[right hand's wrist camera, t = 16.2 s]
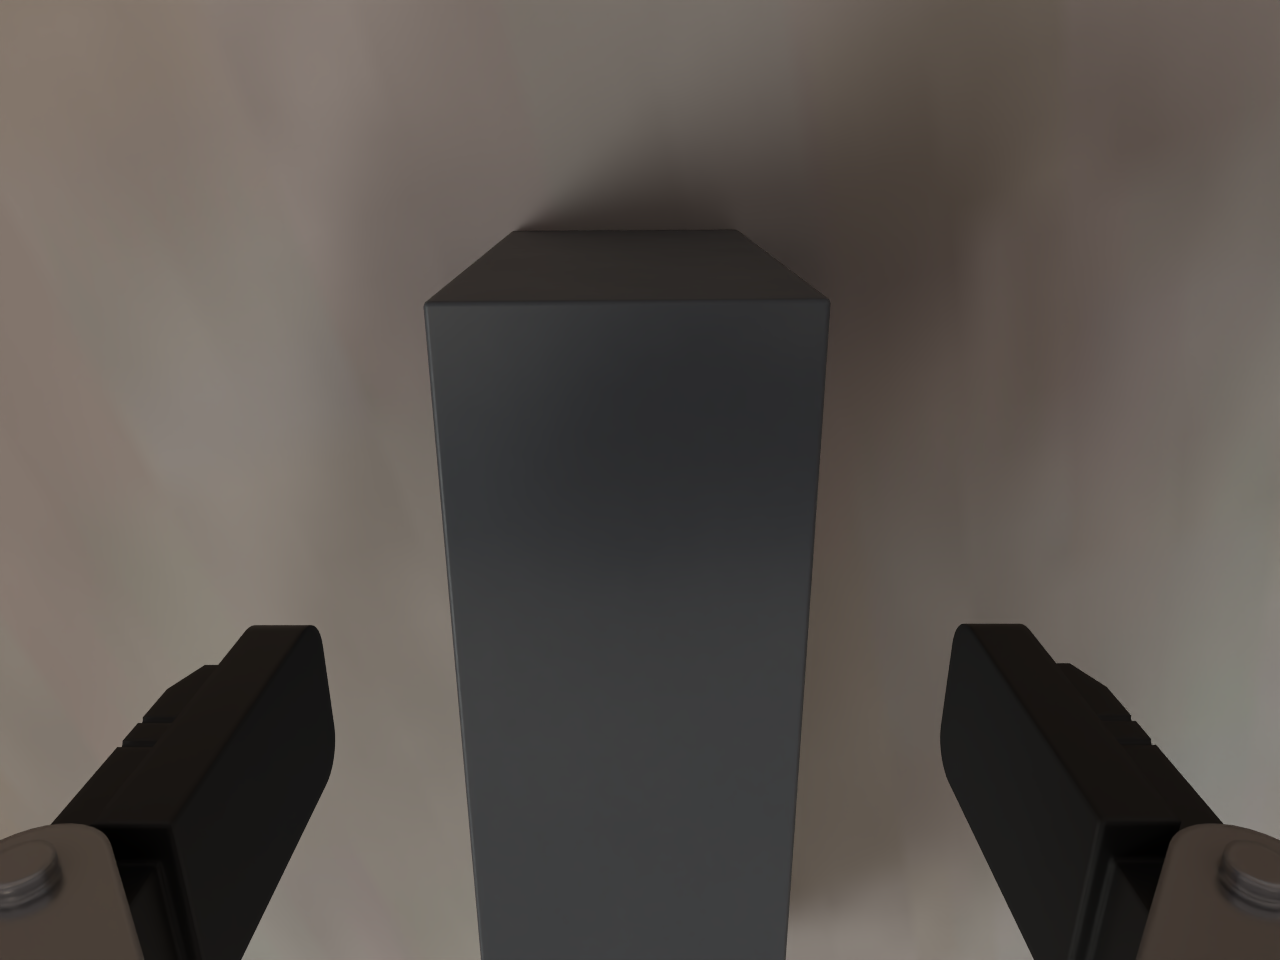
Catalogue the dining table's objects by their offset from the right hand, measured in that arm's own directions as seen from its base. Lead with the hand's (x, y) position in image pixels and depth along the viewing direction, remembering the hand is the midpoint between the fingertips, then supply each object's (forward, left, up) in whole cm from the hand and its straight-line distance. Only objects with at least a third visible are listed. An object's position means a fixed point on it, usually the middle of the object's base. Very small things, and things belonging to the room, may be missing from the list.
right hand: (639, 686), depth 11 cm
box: (+5, +6, -15) cm, 17 cm away
